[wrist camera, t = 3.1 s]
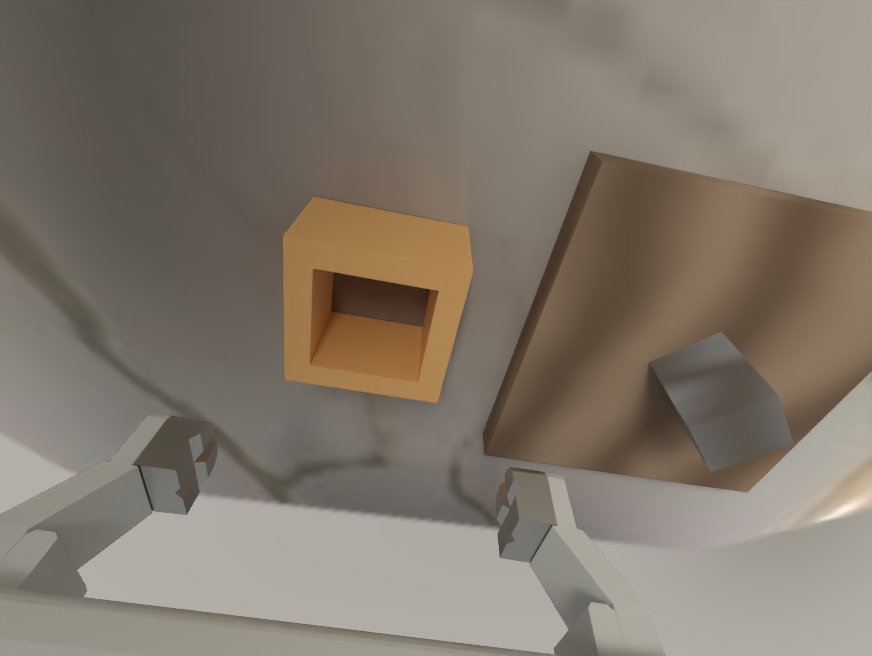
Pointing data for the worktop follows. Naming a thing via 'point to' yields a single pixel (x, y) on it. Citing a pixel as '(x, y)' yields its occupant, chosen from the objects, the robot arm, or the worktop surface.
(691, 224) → the base plate
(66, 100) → the worktop surface
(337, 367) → the orange square tube
